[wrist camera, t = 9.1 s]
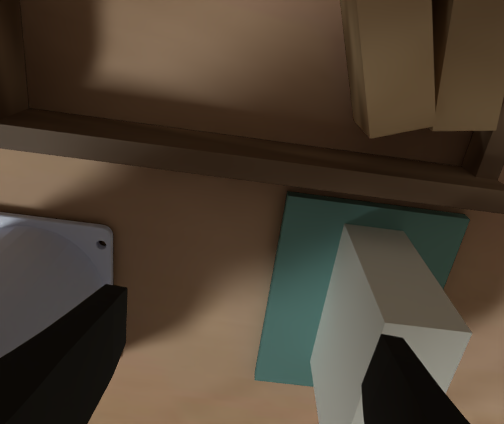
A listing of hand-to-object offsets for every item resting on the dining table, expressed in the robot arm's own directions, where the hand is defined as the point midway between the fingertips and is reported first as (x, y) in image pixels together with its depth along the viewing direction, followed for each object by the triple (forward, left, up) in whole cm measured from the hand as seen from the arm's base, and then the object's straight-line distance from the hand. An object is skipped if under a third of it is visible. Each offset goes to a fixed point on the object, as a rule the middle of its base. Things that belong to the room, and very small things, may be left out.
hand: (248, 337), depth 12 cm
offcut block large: (+10, -4, -10) cm, 15 cm away
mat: (-5, -6, -10) cm, 13 cm away
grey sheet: (-5, -6, -10) cm, 12 cm away
